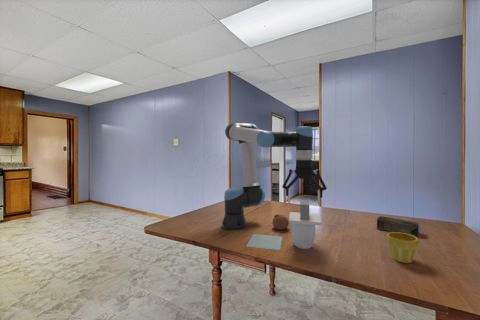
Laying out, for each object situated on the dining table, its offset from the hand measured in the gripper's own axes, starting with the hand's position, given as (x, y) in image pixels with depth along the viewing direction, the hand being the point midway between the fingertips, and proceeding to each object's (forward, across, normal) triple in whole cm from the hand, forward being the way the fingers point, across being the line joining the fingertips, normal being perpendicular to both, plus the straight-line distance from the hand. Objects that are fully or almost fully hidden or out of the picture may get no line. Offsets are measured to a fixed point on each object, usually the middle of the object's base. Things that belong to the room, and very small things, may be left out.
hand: (303, 203), depth 105 cm
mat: (+21, -18, 0) cm, 28 cm away
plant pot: (+20, +40, -4) cm, 45 cm away
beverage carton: (+21, +51, +32) cm, 64 cm away
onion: (+21, -12, +20) cm, 31 cm away
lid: (+7, 0, 0) cm, 8 cm away
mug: (+21, +1, 0) cm, 21 cm away
